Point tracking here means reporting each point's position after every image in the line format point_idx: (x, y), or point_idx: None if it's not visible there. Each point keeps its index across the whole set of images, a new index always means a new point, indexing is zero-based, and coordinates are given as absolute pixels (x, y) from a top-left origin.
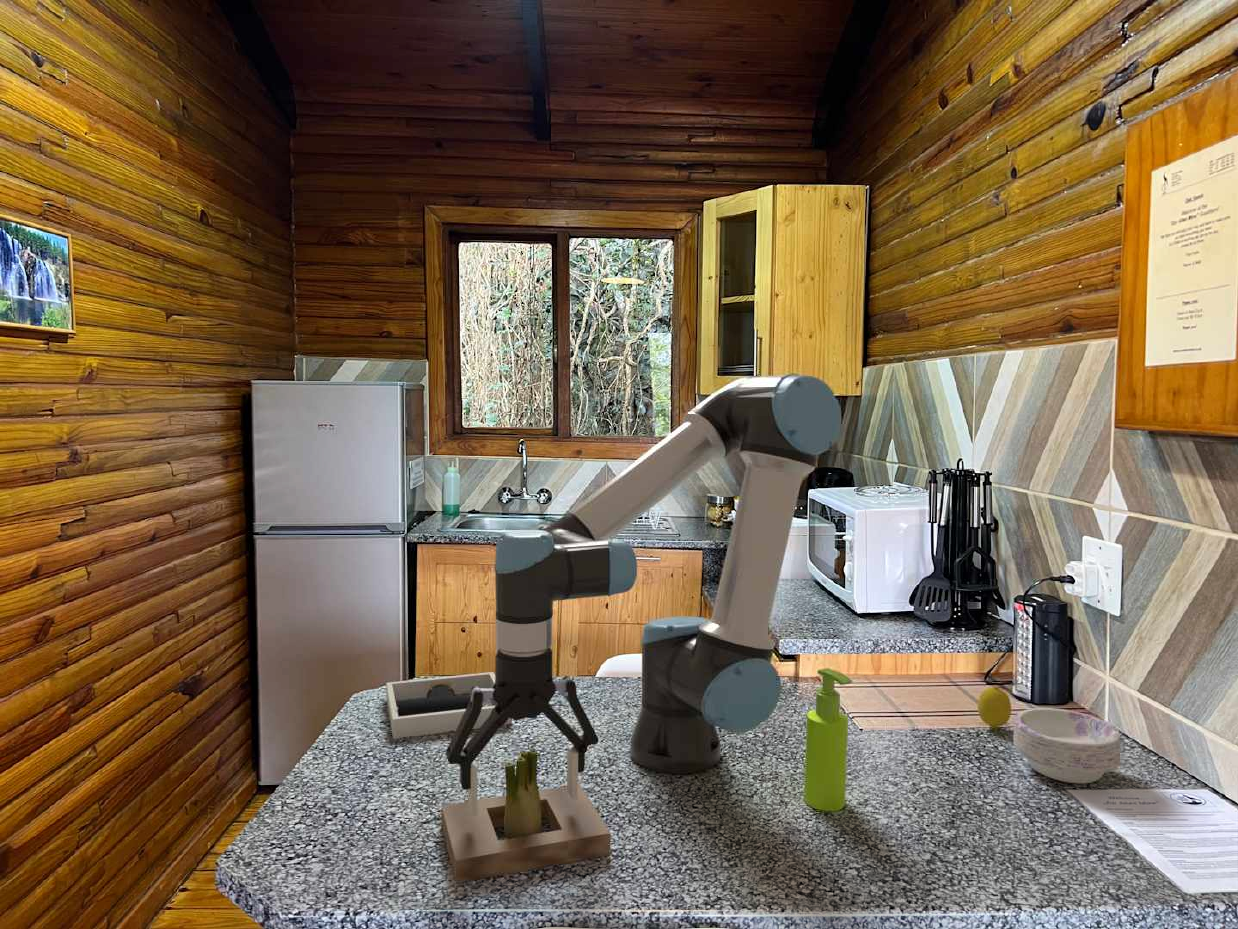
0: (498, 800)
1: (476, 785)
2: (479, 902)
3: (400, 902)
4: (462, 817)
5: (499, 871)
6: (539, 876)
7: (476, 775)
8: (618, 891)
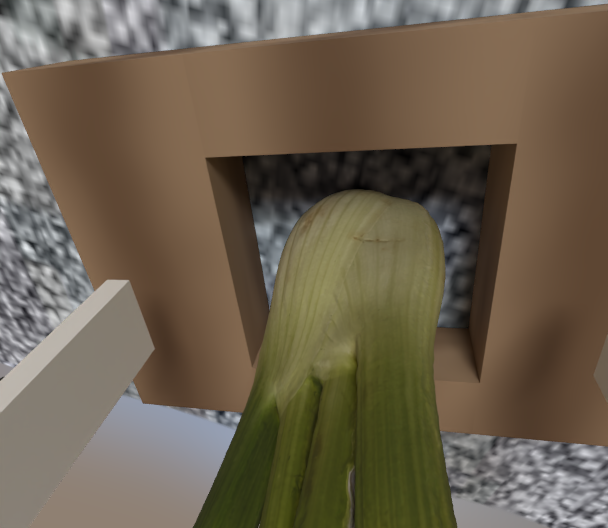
0: (260, 93)
1: (73, 458)
2: (228, 418)
3: None
4: (116, 205)
5: None
6: None
7: (34, 512)
8: (535, 487)
